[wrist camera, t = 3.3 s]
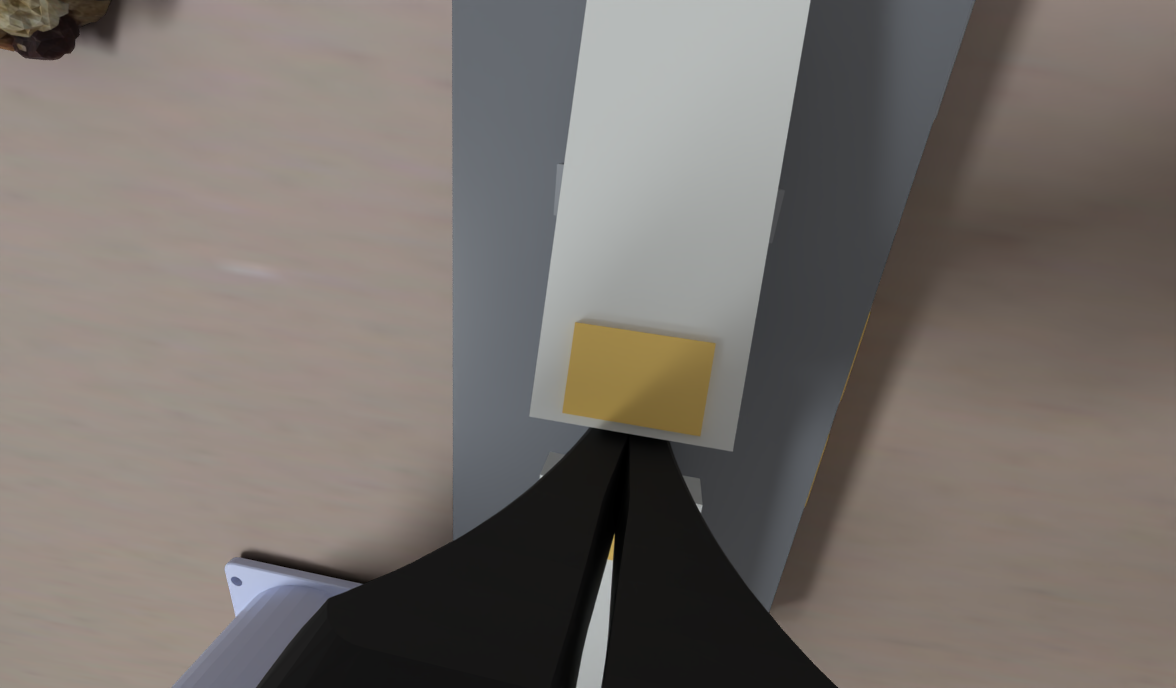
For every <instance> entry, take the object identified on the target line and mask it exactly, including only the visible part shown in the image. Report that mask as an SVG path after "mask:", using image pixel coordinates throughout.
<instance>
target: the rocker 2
mask: <svg viewBox="0 0 1176 688" xmlns="http://www.w3.org/2000/svg"><path fill="white" fill-rule="evenodd" d="M810 1H811V0H587V2H586V9H585V16H584V24H583V31H582V38H581V45H580V53H579V60H578V67H577V74H576V82H575V89H574V96H573V103H572V110H571V118H570V125H569V132H568V139H567V147H566V154H565V161H564V168H563V176H562V183H561V190H560V197H559V205H558V212H557V219H556V226H555V234H554V241H553V248H552V255H551V263H550V270H549V277H548V284H547V292H546V299H545V306H544V313H543V320H542V328H541V335H540V342H539V349H538V357H537V364H536V371H535V378H534V386H533V393H532V400H531V407H530V415H529V417H535V418H540V419H546V420H552V421H558V422H564V423H569V424H575V425H581V426H587V427H593V428H598V429H604V430H610V431H616V432H622V433H627V434H633V435H639V436H645V437H651V438H656V439H662V440H668V441H674V442H680V443H686V444H691V445H697V446H703V447H709V448H715V449H720V450H726V451H732V452H733V447H734V441H735V435H736V429H737V424H738V418H739V412H740V406H741V400H742V395H743V389H744V383H745V377H746V372H747V366H748V360H749V354H750V348H751V343H752V337H753V331H754V325H755V319H756V314H757V308H758V302H759V296H760V290H761V285H762V279H763V273H764V267H765V261H766V256H767V250H768V244H769V238H770V233H771V227H772V221H773V215H774V209H775V204H776V198H777V192H778V186H779V180H780V175H781V169H782V163H783V157H784V151H785V146H786V140H787V134H788V128H789V122H790V117H791V111H792V105H793V99H794V93H795V88H796V82H797V76H798V70H799V65H800V59H801V53H802V47H803V41H804V36H805V30H806V24H807V18H808V12H809V7H810Z"/></svg>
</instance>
